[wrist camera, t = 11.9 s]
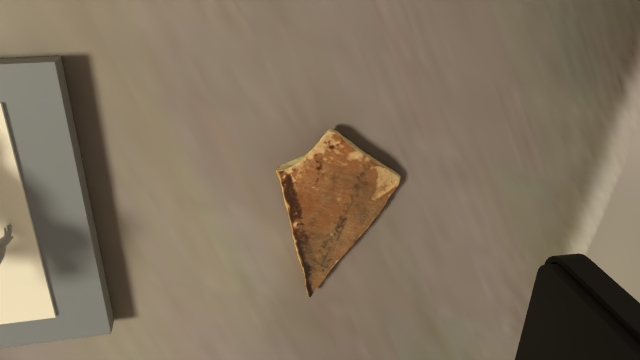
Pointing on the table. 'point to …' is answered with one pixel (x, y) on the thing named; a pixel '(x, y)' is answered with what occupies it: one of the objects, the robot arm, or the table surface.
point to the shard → (332, 201)
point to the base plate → (46, 213)
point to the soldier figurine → (5, 241)
